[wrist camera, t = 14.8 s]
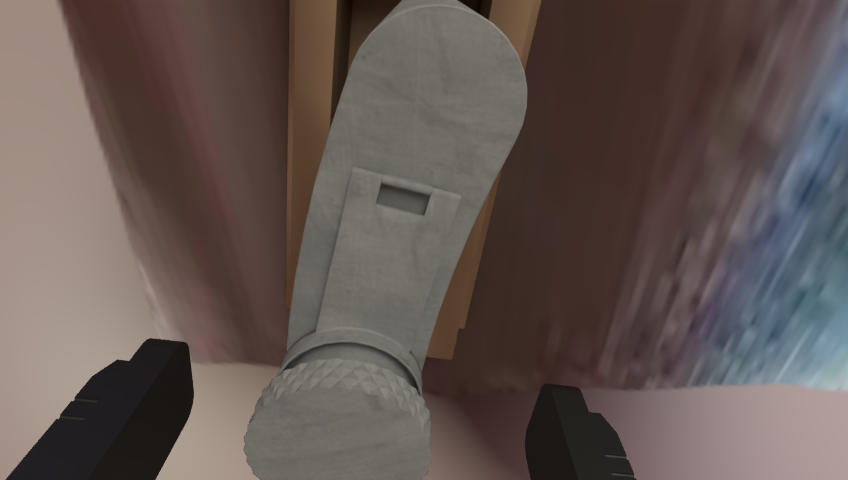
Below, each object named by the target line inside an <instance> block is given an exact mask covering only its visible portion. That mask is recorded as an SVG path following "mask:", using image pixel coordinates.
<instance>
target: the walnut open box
mask: <svg viewBox="0 0 848 480" xmlns="http://www.w3.org/2000/svg"><path fill="white" fill-rule="evenodd" d="M401 1H402V0H290V22H289V92H288V162H287V232H286V303H285V308H289V317H290V310H291V302H292V295H293V287H294V280H295V274H296V269H297V264H298V259H299V253H300V248H301V243H302V238H303V232H304V228H305V223H306V219H307V215H308V210H309V206H310V201H311V197H312V193H313V188H314V184H315V180H316V177H317V173H318V170H319V166H320V163H321V159H322V156H323V152H324V149H325V145H326V142H327V138H328V135H329V131H330V128H331V124H332V121H333V118H334V115H335V112H336V109H337V106H338V103H339V100H340V97H341V94H342V91H343V88H344V85H345V82H346V79H347V76H348V73H349V69H350V66H351V64H352V62H353V60H354V58H355V56H356V54H357V51H358V49H359V48H360V46H361V45H362V44H363V42H364V41H365V40H366V38H367V37H368V36H369V34H370V33H371V32H372V31H373V30H374V29H375V28H376V27H377V26H378V25H379V24H380V23H381V22H382V21H383V20H384V18H385V17H386V16H387V15H388V14H389V13H390V12H391V11H392V10H393V9H394V8H395V7H396V6H397V5H398V4H399V3H400V2H401ZM458 1H459V2H461V3H462V4H464V5H466V6H467V7H469V8H470V9H472V10H473V11H475V12H477V13H478V14H480V15H481V16H483V17H484V18H486V19H487V20H489V21H491V22H492V23H494V24H495V25H496V26H497V27H498V28H499V29H500V30H501V31H502V32H503V33H504V34H505V35H506V36H507V38H508V39H509V41H510V42H511V44H512V45H513V47H514V48H515V50H516V52H517V53H518V56H519V58H520V61H521V63H522V66H523V69H524V72H525V68H526V63H527V59H528V55H529V51H530V46H531V42H532V38H533V34H534V29H535V25H536V21H537V17H538V12H539V8H540V4H541V0H458ZM501 170H502V168H501ZM501 170H500V172H499V174H498V175H497V177H496V179H495V181H494V183H493V185H492V187H491V189H490V191H489V193H488V195H487V198H486V200H485V202H484V204H483V206H482V208H481V210H480V212H479V214H478V216H477V219H476V221H475V223H474V225H473V227H472V229H471V232H470V234H469V236H468V239H467V241H466V244H465V246H464V248H463V251H462V253H461V256H460V258H459V260H458V263H457V265H456V268H455V270H454V273H453V276H452V278H451V281H450V284H449V286H448V289H447V292H446V294H445V297H444V300H443V303H442V305H441V308H440V311H439V314H438V317H437V320H436V324H435V327H434V330H433V333H432V336H431V340H430V343H429V346H428V350H427V354H426V357H432V358H441V359H450V360H452V357H453V352H454V348H455V343H456V339H457V335H458V330H459V328H462V329H464V327H465V323H466V319H467V314H468V310H469V306H470V302H471V297H472V293H473V289H474V285H475V280H476V276H477V272H478V268H479V263H480V259H481V255H482V251H483V246H484V242H485V238H486V234H487V229H488V225H489V221H490V217H491V212H492V208H493V204H494V200H495V195H496V191H497V187H498V183H499V178H500V174H501Z"/></svg>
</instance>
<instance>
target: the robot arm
mask: <svg viewBox="0 0 848 480" xmlns="http://www.w3.org/2000/svg"><path fill="white" fill-rule="evenodd" d="M193 398H194V389H193V380H192V371H191V362H190V353H189V347H188V344H187V343H186V342H179V341H170V340H161V339H152V338H150V339H147V340H146V341H145V342H144V343H143V344H142V345H141V347H140V348H139V349H138V350H137V352H136V353H135V354H134V356H133V357H132V358H131V360H130V361H124V360H116V361H115V362H113V363H112V364H110V365H109V366H107V367H106V368H104V369H103V370H101V371H100V372H98V373H97V374H95V375H94V376H92V377H91V378H90V380H89V381H88V382H87V383H86V385H85V386H84V387H83V388H82V389H81V390H80V392H79V393H78V394H77V395H76V396H75V400H74V401H71V402H70V403H69V405H68V406H67V407H66V408H65V409H64V411H63V412H62V413H61V414H60V418H59V419H56V420H55V422H54V423H53V424H52V425H51V426H50V427H49V429H48V430H47V431H46V432H45V433H44V435H43V436H42V437H41V438H40V439H39V440H38V442H37V443H36V444H35V445H34V446H33V448H32V449H31V450H30V451H29V452H28V454H27V455H26V456H25V457H24V458H23V460H22V461H21V462H20V463H19V464H18V466H17V467H16V468H15V469H14V470H13V471H12V473H11V474H10V475H9V476H8V477H7V479H6V480H155V479H156V477H157V476H158V474H159V472H160V470H161V468H162V466H163V464H164V462H165V461H166V459H167V457H168V455H169V453H170V452H171V449H172V448H173V446H174V444H175V442H176V440H177V439H178V437H179V435H180V433H181V431H182V429H183V427H184V426H185V424H186V422H187V420H188V418H189V415H190V412H191V408H192V404H193ZM525 452H526V459H527V464H528V469H529V473H530V478H531V480H636V479H634V473H633V470H632V468H631V465H630V463H629V461H628V460H627V459H626V453H625V451H624V448H623V446H622V444H621V441H620V439H619V437H618V434H617V433H616V431H615V430H614V429H613V428H612V427H611V426H610V424H609V423H608V422H607V421H606V420H605V418H604V417H603V416H602V415H601V414H599V413H591V412H589V411H588V408H587V406H586V403H585V400H584V398H583V395H582V393H581V391H580V389H579V388H577V387H571V386H562V385H553V384H544V385H543V386H542V388H541V390H540V393H539V396H538V399H537V402H536V405H535V407H534V410H533V413H532V416H531V419H530V422H529V424H528V427H527V431H526V439H525Z"/></svg>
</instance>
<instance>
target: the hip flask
mask: <svg viewBox="0 0 848 480" xmlns="http://www.w3.org/2000/svg"><path fill="white" fill-rule="evenodd" d="M526 108H527V84H526V78H525V72H524V69H523V66H522V63H521V61H520V58H519V56H518V53H517V52H516V50H515V48H514V47H513V45H512V44H511V42H510V41H509V39H508V38H507V36H506V35H505V34H504V33H503V32H502V31H501V30H500V29H499V28H498V27H497V26H496V25H495V24H494V23H492V22H491V21H489V20H487V19H486V18H484V17H483V16H481V15H480V14H478V13H477V12H475V11H473V10H472V9H470V8H469V7H467V6H466V5H464V4H462V3H461V2H459V1H458V0H402V1H401V2H400V3H399V4H398V5H397V6H396V7H395V8H394V9H393V10H392V11H391V12H390V13H389V14H388V15H387V16H386V17H385V18H384V20H383V21H382V22H381V23H380V24H379V25H378V26H377V27H376V28H375V29H374V30H373V31H372V32H371V33H370V34H369V36H368V37H367V38H366V40H365V41H364V42H363V44H362V45H361V46H360V48H359V49H358V51H357V54H356V56H355V58H354V60H353V62H352V64H351V66H350V69H349V73H348V76H347V79H346V82H345V85H344V88H343V91H342V94H341V97H340V100H339V103H338V106H337V109H336V112H335V115H334V118H333V121H332V124H331V128H330V131H329V135H328V138H327V142H326V145H325V149H324V152H323V156H322V159H321V163H320V166H319V170H318V173H317V177H316V180H315V184H314V188H313V193H312V197H311V201H310V206H309V210H308V215H307V219H306V223H305V228H304V232H303V238H302V243H301V248H300V253H299V259H298V264H297V269H296V274H295V280H294V287H293V295H292V302H291V310H290V317H289V326H288V337H287V348H286V354H285V356H284V358H283V360H282V362H281V367H280V370H279V372H278V374H277V376H276V378H274V379H272V381H271V382H270V384H269V386H267V387H266V388H264V389H263V391H262V396H261V397H260V398H259V400H258V401H257V404H256V407H255V413H254V414H253V416H252V418H251V419H250V421H249V424H248V431H247V433H246V435H245V436H244V442H245V446H244V452H245V454H246V456H247V463H248V465H250V467H251V468H252V471H253V474H254V475H255V476H256V477H258V478H259V479H260V480H422V479H423V477H424V476H426V475H427V474H428V467H429V465H430V463H431V456H430V453H431V437H430V432H431V422H430V420H429V415H430V412H429V410H428V409H427V408H426V406H425V401H424V399H423V396H422V382H423V380H422V369H423V365H424V361H425V358H426V354H427V350H428V346H429V343H430V340H431V336H432V333H433V330H434V327H435V324H436V320H437V317H438V314H439V311H440V308H441V305H442V303H443V300H444V297H445V294H446V292H447V289H448V286H449V284H450V281H451V278H452V276H453V273H454V270H455V268H456V265H457V263H458V260H459V258H460V256H461V253H462V251H463V248H464V246H465V244H466V241H467V239H468V236H469V234H470V232H471V229H472V227H473V225H474V223H475V221H476V219H477V216H478V214H479V212H480V210H481V208H482V206H483V204H484V202H485V200H486V198H487V195H488V193H489V191H490V189H491V187H492V185H493V183H494V181H495V179H496V177H497V175H498V174H499V172H500V170H501V168H502V166H503V164H504V162H505V160H506V158H507V156H508V155H509V153H510V151H511V149H512V147H513V145H514V143H515V141H516V139H517V137H518V134H519V132H520V130H521V128H522V125H523V122H524V117H525V113H526ZM283 370H284V371H283ZM282 371H283V373H282ZM418 389H419V392H418Z"/></svg>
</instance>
